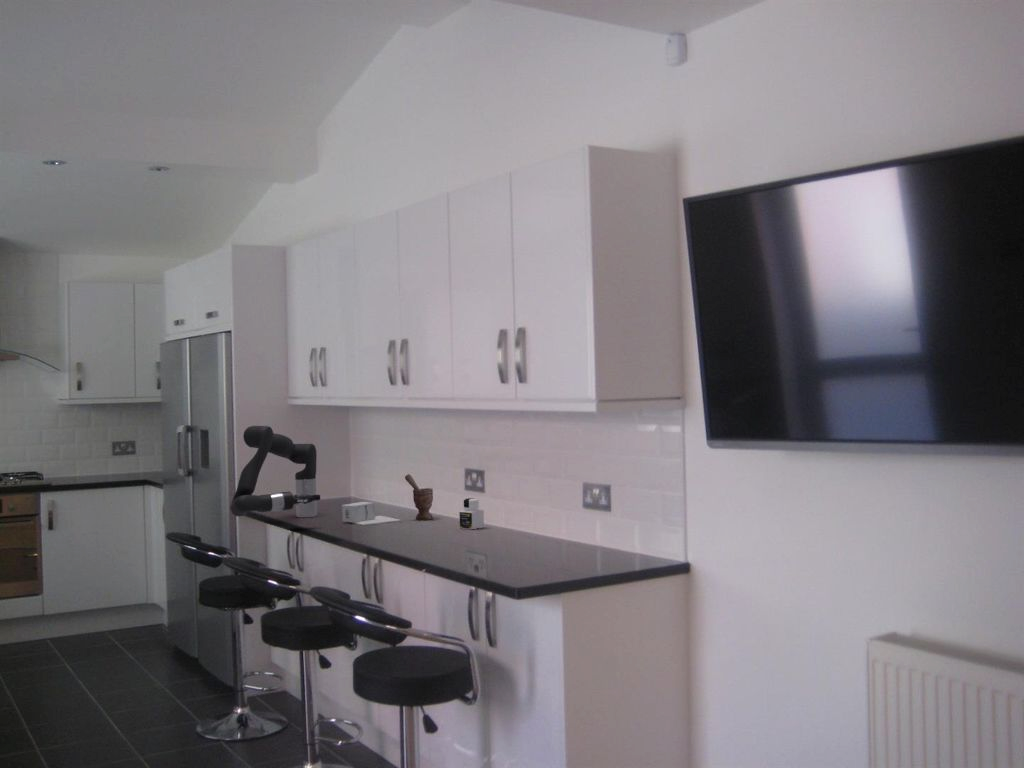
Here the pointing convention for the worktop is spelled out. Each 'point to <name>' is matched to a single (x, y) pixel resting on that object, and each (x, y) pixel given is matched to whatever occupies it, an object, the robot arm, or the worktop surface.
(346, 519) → the supplement box
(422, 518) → the mortar and pestle
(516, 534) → the worktop surface
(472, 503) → the medicine bottle
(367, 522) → the mat
